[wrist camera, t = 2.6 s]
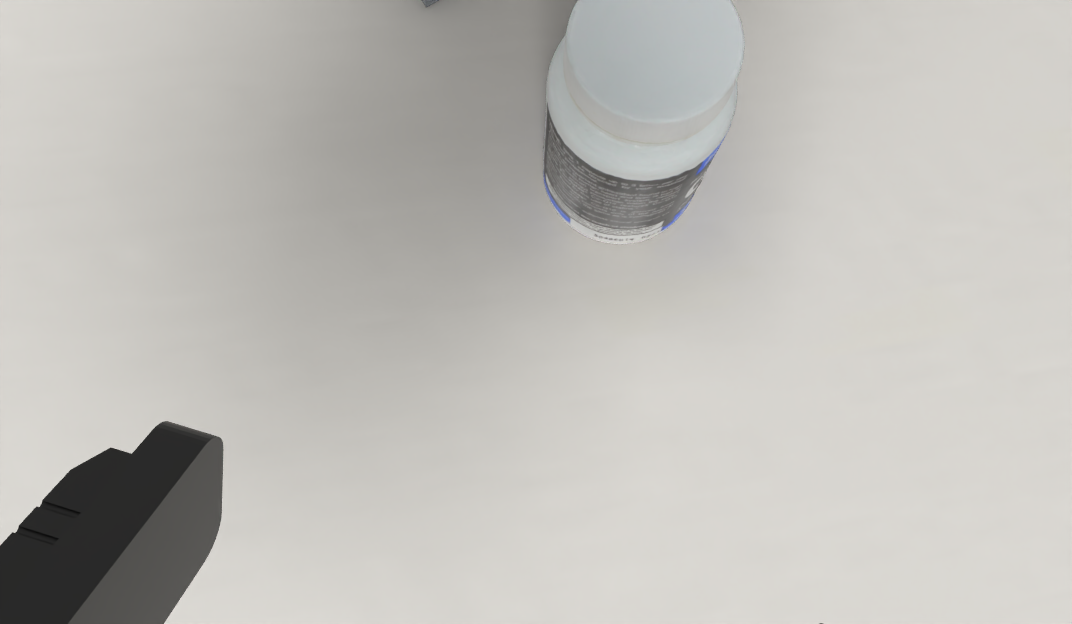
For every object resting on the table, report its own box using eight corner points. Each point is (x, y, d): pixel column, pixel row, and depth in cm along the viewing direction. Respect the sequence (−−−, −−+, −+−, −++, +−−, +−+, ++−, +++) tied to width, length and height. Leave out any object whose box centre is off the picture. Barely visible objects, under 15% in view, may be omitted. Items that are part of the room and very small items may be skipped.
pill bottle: (700, 243, 28) (774, 136, 19) (545, 250, 28) (554, 144, 19) (688, 99, 29) (753, -62, 20) (538, 104, 29) (544, -55, 20)
